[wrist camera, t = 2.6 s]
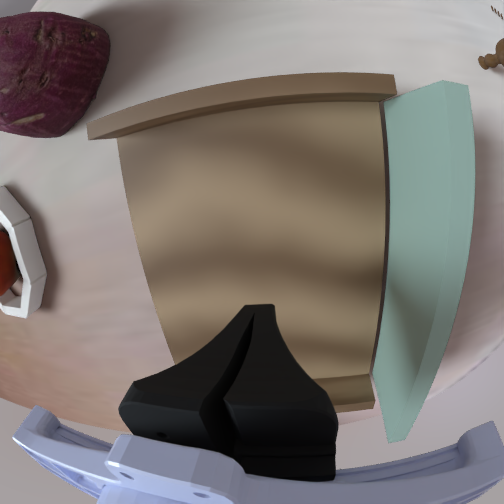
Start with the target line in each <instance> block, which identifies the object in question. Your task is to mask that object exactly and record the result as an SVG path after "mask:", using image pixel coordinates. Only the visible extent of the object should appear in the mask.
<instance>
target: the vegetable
mask: <svg viewBox="0 0 504 504" xmlns="http://www.w3.org/2000/svg"><path fill="white" fill-rule="evenodd" d="M109 51H110V41H109V36H108V35H107V33H106V31H105V30H104V29H103V28H101V27H99V26H96V25H94V24H91V23H89V22H87V21H85V20H83V19H80V18H77V17H72V16H68V15H65V14H61V13H56V12H28V13H22V14H18V15H14V16H7V17H3V18H0V131H3V132H8V133H12V134H17V135H22V136H28V137H35V138H53V137H59V136H62V135H63V134H65V133H66V132H67V131H68V130H69V129H70V128H71V127H72V126H73V125H74V124H75V123H76V122H77V121H78V120H79V119H81V117H82V116H83V115H84V113H85V111H86V110H87V108H88V107H89V105H90V104H91V102H92V101H93V100H94V99H95V98H96V92H97V90H98V87H99V85H100V83H101V80H102V78H103V75H104V72H105V69H106V66H107V63H108V61H109Z"/></svg>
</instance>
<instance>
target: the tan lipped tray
mask: <svg viewBox="0 0 504 504" xmlns="http://www.w3.org/2000/svg"><path fill="white" fill-rule="evenodd" d="M396 94H397V91H396V85H395V79H394V75H391V74H376V73H347V72H334V73H304V74H290V75H278V76H269V77H260V78H253V79H246V80H239V81H233V82H227V83H222V84H216V85H211V86H206V87H202V88H197V89H193V90H188V91H184V92H180V93H176V94H172V95H169V96H165V97H161V98H158V99H154V100H151V101H148V102H145V103H141V104H138V105H135V106H132V107H129V108H126V109H123V110H121V111H118V112H115V113H112V114H110V115H107V116H104V117H102V118H99V119H97V120H94V121H92V122H89V123H87V132H88V140H97V139H111V138H117V144H118V151H119V157H120V164H121V170H122V175H123V181H124V187H125V192H126V197H127V202H128V207H129V211H130V216H131V221H132V225H133V229H134V234H135V238H136V242H137V246H138V250H139V254H140V257H141V261H142V265H143V269H144V272H145V276H146V279H147V283H148V286H149V289H150V293H151V296H152V299H153V302H154V306H155V309H156V312H157V315H158V318H159V321H160V324H161V327H162V330H163V333H164V335H165V338H166V341H167V344H168V347H169V349H170V352H171V355H172V357H173V360H174V363H175V365H176V364H178V363H180V362H181V361H183V360H184V359H186V358H188V357H189V356H191V355H193V354H194V353H196V352H197V351H198V350H200V349H201V348H202V347H204V346H205V345H206V344H208V343H209V342H210V341H211V340H212V339H213V338H214V337H215V336H216V335H218V334H219V333H220V332H221V331H222V330H223V329H224V328H225V326H226V325H227V324H228V323H229V322H230V321H231V320H232V319H233V318H234V317H235V315H236V314H237V313H238V312H239V311H240V310H241V309H242V307H243V306H244V305H252V304H273V305H275V311H276V321H277V325H278V327H279V330H280V333H281V335H282V337H283V339H284V341H285V343H286V345H287V347H288V349H289V350H290V352H291V354H292V355H293V357H294V358H295V359H296V361H297V362H298V363H299V365H300V366H301V367H302V368H303V369H304V371H305V372H306V373H307V374H308V375H309V376H310V377H311V378H312V379H313V380H314V381H315V382H316V383H317V384H318V385H319V386H320V387H322V388H323V389H324V390H325V391H326V392H327V394H328V396H329V398H330V400H331V402H332V404H333V406H334V409H335V411H336V413H340V412H350V411H358V410H366V409H373V407H374V404H375V397H374V393H373V389H372V384H371V380H370V376H369V371H370V365H371V360H372V355H373V349H374V343H375V337H376V330H377V323H378V316H379V308H380V299H381V289H382V278H383V265H384V248H385V167H384V150H383V138H382V127H381V118H380V109H379V102H380V101H382V100H385V99H387V98H389V97H392V96H394V95H396Z"/></svg>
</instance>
